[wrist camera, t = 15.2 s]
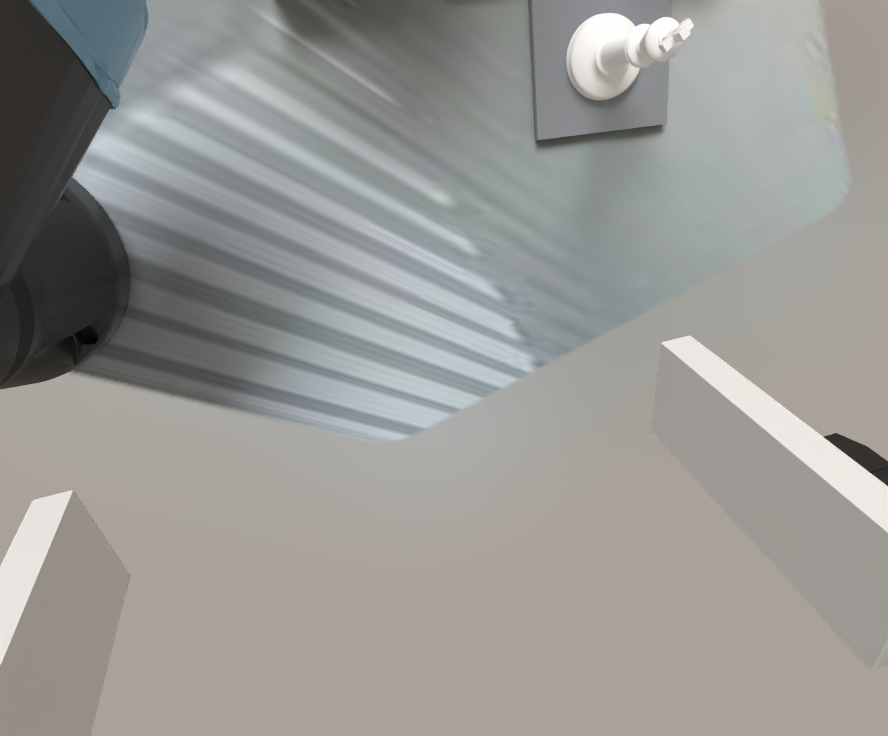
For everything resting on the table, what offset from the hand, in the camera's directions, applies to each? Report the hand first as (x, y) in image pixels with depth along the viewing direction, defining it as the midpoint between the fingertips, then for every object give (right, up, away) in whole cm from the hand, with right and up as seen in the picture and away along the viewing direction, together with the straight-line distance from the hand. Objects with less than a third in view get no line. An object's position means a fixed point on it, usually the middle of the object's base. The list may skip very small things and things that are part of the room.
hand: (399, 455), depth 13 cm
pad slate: (+11, +22, +24) cm, 35 cm away
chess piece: (+11, +22, +24) cm, 34 cm away
